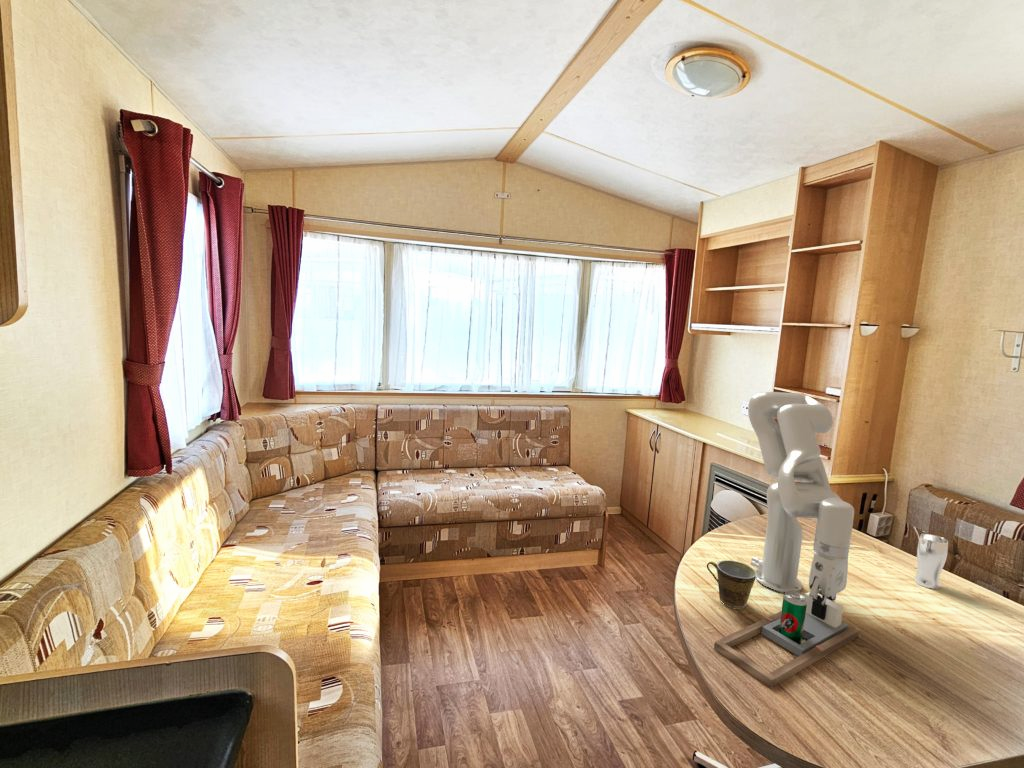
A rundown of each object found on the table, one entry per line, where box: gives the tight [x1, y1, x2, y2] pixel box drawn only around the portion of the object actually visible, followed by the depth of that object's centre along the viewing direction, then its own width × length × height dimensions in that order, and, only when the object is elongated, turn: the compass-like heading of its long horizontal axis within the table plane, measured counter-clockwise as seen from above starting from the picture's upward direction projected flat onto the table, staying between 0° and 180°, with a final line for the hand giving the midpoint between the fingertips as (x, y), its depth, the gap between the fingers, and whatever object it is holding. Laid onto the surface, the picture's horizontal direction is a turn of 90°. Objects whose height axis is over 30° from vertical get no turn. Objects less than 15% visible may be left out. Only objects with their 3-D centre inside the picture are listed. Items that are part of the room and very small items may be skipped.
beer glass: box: [913, 533, 949, 590], centre depth 151 cm, size 7×7×15 cm
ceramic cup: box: [706, 559, 756, 610], centre depth 137 cm, size 13×10×10 cm
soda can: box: [779, 591, 807, 645], centre depth 120 cm, size 5×5×12 cm
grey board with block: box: [760, 591, 849, 657], centre depth 124 cm, size 10×21×7 cm, turn 121°
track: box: [713, 610, 860, 688], centre depth 120 cm, size 14×38×2 cm, turn 121°
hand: (821, 614), depth 128 cm, fingers closed on grey board with block, 3 cm apart
